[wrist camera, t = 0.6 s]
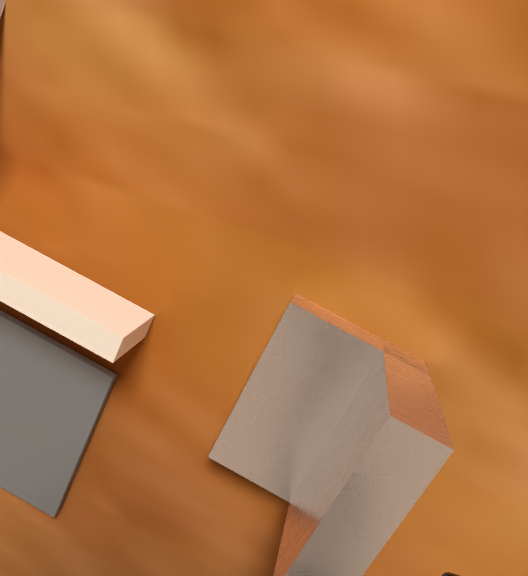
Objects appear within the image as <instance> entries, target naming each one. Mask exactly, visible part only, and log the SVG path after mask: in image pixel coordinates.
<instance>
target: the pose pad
mask: <svg viewBox="0 0 528 576" xmlns="http://www.w3.org/2000/svg"><path fill="white" fill-rule="evenodd" d="M116 376H117V374H115V373H114V372H112V371H110V370H108V369H106V368H105V367H103V366H101V365H99V364H97V363H96V362H94V361H92V360H90V359H88V358H86V357H85V356H83V355H81V354H79V353H77V352H76V351H74V350H72V349H70V348H68V347H67V346H65V345H63V344H61V343H59V342H58V341H56V340H54V339H52V338H50V337H49V336H47V335H45V334H43V333H41V332H39V331H38V330H36V329H34V328H32V327H30V326H29V325H27V324H25V323H23V322H21V321H20V320H18V319H16V318H14V317H12V316H11V315H9V314H7V313H5V312H3V311H1V310H0V487H1V488H3V489H5V490H6V491H8V492H10V493H12V494H13V495H15V496H17V497H18V498H20V499H22V500H24V501H25V502H27V503H29V504H31V505H32V506H34V507H36V508H38V509H39V510H41V511H43V512H44V513H46V514H48V515H50V516H51V517H53V518H54V517H55V516H56V515H57V514H58V512H59V510H60V508H61V505H62V503H63V500H64V498H65V496H66V493H67V491H68V489H69V486H70V484H71V482H72V479H73V477H74V475H75V472H76V470H77V468H78V465H79V463H80V461H81V458H82V456H83V454H84V451H85V449H86V447H87V444H88V442H89V440H90V437H91V435H92V433H93V430H94V428H95V426H96V423H97V421H98V419H99V416H100V414H101V412H102V409H103V407H104V405H105V402H106V400H107V398H108V395H109V393H110V390H111V388H112V386H113V383H114V381H115V379H116Z"/></svg>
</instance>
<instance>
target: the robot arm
mask: <svg viewBox="0 0 528 576" xmlns="http://www.w3.org/2000/svg"><path fill="white" fill-rule="evenodd" d="M442 576H459V575H456V574H453V573H449V572H446V573H444V574H443V575H442Z"/></svg>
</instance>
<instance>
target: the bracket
mask: <svg viewBox="0 0 528 576" xmlns="http://www.w3.org/2000/svg"><path fill="white" fill-rule="evenodd" d="M5 3H6V1H5V0H0V18H1V15H2V12H3V9H4V6H5Z"/></svg>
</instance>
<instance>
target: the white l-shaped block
mask: <svg viewBox="0 0 528 576" xmlns="http://www.w3.org/2000/svg"><path fill="white" fill-rule="evenodd" d="M0 301H1V302H3V303H5V304H7V305H8V306H10V307H12V308H14V309H16V310H17V311H19V312H21V313H23V314H25V315H27V316H28V317H30V318H32V319H34V320H36V321H37V322H39V323H41V324H43V325H45V326H46V327H48V328H50V329H52V330H54V331H56V332H57V333H59V334H61V335H63V336H65V337H66V338H68V339H70V340H72V341H74V342H75V343H77V344H79V345H81V346H83V347H85V348H86V349H88V350H90V351H92V352H94V353H95V354H97V355H99V356H101V357H103V358H105V359H106V360H108V361H110V362H112V363H114V362H115V361H116V360H117V359H119V358H120V357H121V356H122V355H124V354H125V353H126V352H127V351H129V350H130V349H131V348H132V347H134V346H135V345H136V344H137V343H139V342H140V341H141V340H142V339H144V338H145V336H146V334H147V332H148V330H149V327H150V325H151V323H152V320H153V318H154V316H155V315H154V314H152V313H150V312H148V311H147V310H145V309H143V308H141V307H139V306H137V305H136V304H134V303H132V302H130V301H128V300H126V299H124V298H123V297H121V296H119V295H117V294H115V293H113V292H112V291H110V290H108V289H106V288H104V287H102V286H100V285H99V284H97V283H95V282H93V281H91V280H89V279H88V278H86V277H84V276H82V275H80V274H78V273H76V272H75V271H73V270H71V269H69V268H67V267H65V266H64V265H62V264H60V263H58V262H56V261H54V260H52V259H51V258H49V257H47V256H45V255H43V254H41V253H40V252H38V251H36V250H34V249H32V248H30V247H28V246H27V245H25V244H23V243H21V242H19V241H17V240H16V239H14V238H12V237H10V236H8V235H6V234H4V233H3V232H1V231H0Z"/></svg>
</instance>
